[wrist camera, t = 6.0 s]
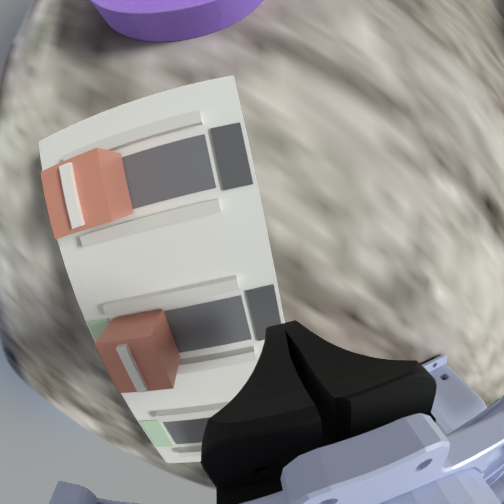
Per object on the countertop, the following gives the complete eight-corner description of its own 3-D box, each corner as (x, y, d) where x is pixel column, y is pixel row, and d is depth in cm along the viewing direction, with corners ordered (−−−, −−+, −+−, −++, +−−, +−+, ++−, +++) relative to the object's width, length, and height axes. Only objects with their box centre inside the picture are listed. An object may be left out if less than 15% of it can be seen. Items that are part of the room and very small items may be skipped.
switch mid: (163, 308, 14) (148, 339, 11) (180, 356, 15) (172, 392, 12) (113, 318, 14) (91, 347, 11) (132, 363, 15) (118, 396, 12)
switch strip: (232, 90, 14) (234, 71, 11) (298, 422, 20) (307, 449, 17) (60, 145, 14) (32, 140, 11) (170, 441, 20) (166, 468, 17)
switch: (120, 153, 12) (93, 146, 9) (133, 213, 13) (109, 222, 10) (70, 172, 12) (36, 172, 9) (83, 228, 13) (51, 241, 10)
